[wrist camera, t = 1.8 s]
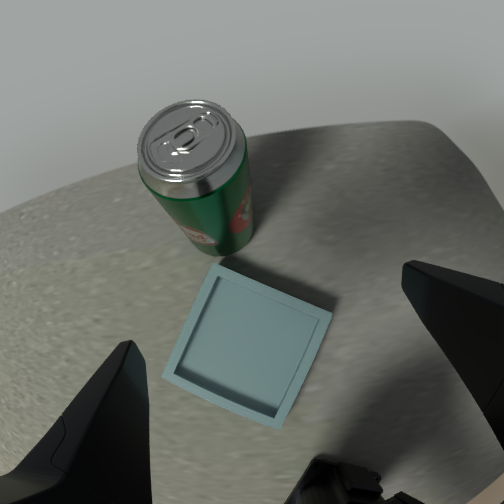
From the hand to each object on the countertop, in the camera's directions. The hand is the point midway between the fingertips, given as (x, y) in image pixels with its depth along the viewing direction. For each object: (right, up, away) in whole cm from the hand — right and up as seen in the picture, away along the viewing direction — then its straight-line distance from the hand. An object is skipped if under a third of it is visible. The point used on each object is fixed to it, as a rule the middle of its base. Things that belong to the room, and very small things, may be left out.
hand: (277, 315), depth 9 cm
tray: (-1, -5, +12) cm, 13 cm away
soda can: (-3, +4, +15) cm, 15 cm away
